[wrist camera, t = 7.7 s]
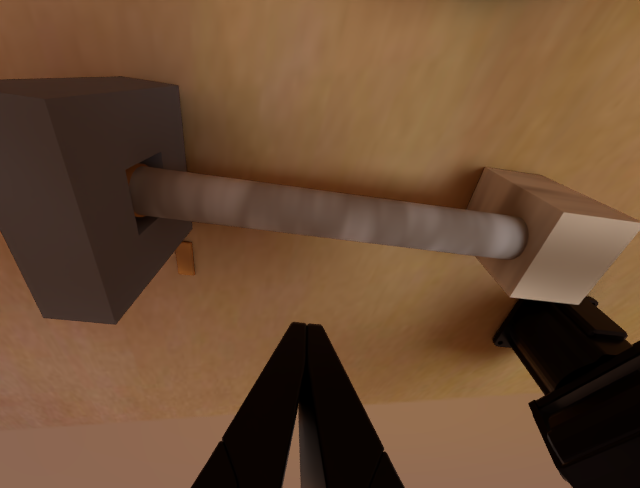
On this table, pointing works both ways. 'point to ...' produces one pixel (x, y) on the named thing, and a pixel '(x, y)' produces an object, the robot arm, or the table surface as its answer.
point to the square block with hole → (86, 189)
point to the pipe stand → (416, 223)
